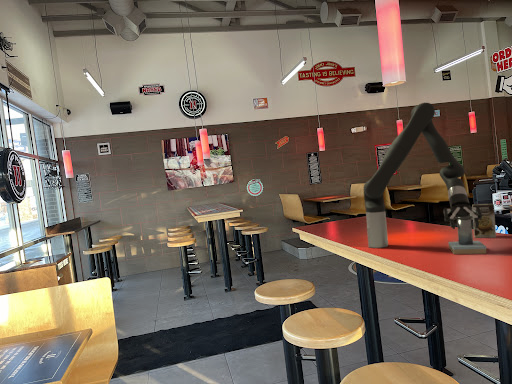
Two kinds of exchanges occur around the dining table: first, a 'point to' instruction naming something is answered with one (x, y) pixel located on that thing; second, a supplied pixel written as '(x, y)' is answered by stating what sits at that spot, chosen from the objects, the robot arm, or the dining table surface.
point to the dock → (467, 248)
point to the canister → (464, 230)
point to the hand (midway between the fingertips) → (465, 227)
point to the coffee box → (485, 222)
